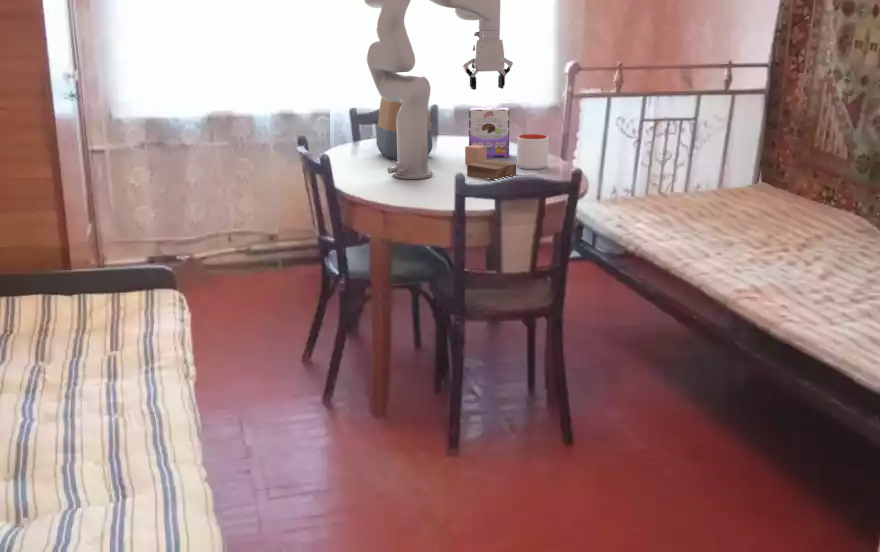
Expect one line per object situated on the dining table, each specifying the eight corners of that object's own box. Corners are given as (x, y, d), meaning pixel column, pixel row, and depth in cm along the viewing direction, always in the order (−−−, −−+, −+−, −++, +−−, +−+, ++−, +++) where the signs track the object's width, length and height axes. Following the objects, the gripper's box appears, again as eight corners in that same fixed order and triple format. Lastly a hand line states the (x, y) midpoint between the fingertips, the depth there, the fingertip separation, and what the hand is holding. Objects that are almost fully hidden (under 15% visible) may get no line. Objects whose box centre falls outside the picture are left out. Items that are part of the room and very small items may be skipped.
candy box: (509, 154, 328) (510, 106, 323) (508, 157, 322) (509, 109, 317) (469, 153, 329) (469, 106, 324) (468, 157, 324) (468, 108, 319)
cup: (528, 162, 315) (528, 132, 312) (553, 166, 309) (554, 136, 306) (510, 167, 308) (511, 137, 304) (536, 171, 302) (537, 140, 298)
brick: (477, 166, 309) (477, 148, 307) (465, 164, 312) (465, 146, 310) (486, 164, 313) (486, 146, 311) (474, 162, 316) (474, 144, 314)
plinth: (495, 180, 290) (495, 169, 288) (467, 175, 296) (467, 164, 295) (516, 174, 298) (516, 163, 296) (488, 169, 304) (488, 159, 303)
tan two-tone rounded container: (435, 158, 322) (435, 89, 315) (389, 162, 316) (387, 92, 309) (418, 149, 337) (417, 83, 330) (373, 153, 331) (372, 86, 324)
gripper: (466, 36, 302) (466, 91, 307) (517, 35, 307) (515, 89, 312) (459, 35, 308) (458, 88, 314) (508, 34, 314) (507, 86, 319)
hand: (487, 88), depth 313 cm, fingers open, 9 cm apart
